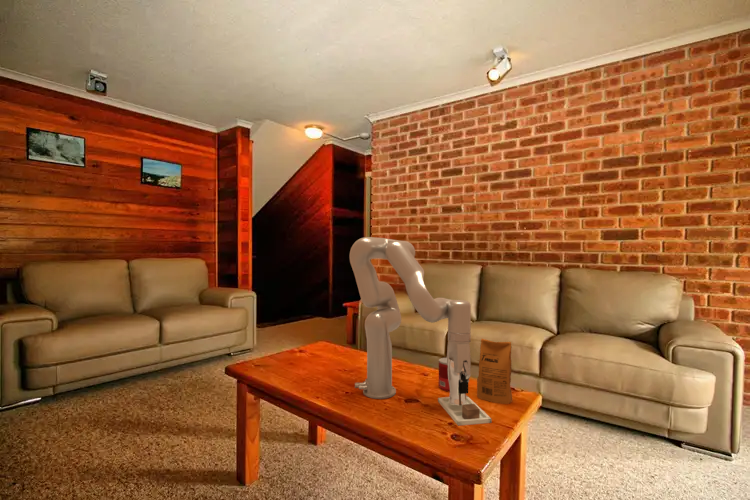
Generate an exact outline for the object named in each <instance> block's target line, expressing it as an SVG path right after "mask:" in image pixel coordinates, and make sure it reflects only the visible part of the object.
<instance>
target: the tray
mask: <svg viewBox="0 0 750 500" xmlns="http://www.w3.org/2000/svg"><path fill="white" fill-rule="evenodd" d="M466 400H467V404H475V405H476V406H477V407H478V408H479V409H480V418H475V419H463V417H462V406H454V405H451V404H450V403H449V396H445V397H438V398H437V402H438V404H440V406H441V407H442V408H443V409H444V411H445V412H446V414H448V415H449V417H450V418H451V419H452V420H453V422H454V423H455V424H456V425H457V426H471V425H480V424H481V425H482V424H491V423H492V417H490V416H489V415H488V414H487V413H486V411H484V410H483V409H482V408H481V407H480V406H478V404H477V403H476V402H474V400H472V399H471V398H470V397H469V396H468V395H466Z"/></svg>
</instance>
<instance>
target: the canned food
mask: <svg viewBox="0 0 750 500" xmlns="http://www.w3.org/2000/svg"><path fill="white" fill-rule="evenodd" d="M438 388H439V389H440V390H442V391H444V392H450V386H449V380H448V365H447V357H442V358H439V359H438Z"/></svg>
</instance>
